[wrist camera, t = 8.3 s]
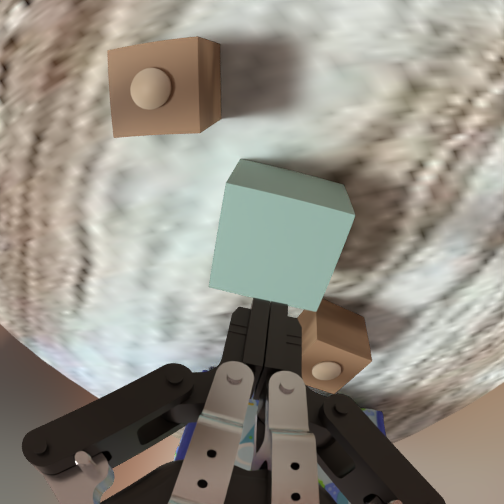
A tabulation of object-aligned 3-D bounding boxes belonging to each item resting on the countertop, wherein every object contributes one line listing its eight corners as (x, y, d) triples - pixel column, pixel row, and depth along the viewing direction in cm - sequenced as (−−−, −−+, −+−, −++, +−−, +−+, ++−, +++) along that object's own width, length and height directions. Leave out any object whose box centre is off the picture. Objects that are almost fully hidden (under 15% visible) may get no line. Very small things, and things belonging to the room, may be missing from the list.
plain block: (240, 158, 21) (226, 182, 17) (343, 183, 21) (355, 215, 17) (224, 246, 25) (208, 287, 20) (314, 268, 25) (316, 311, 20)
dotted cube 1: (315, 294, 26) (317, 341, 21) (363, 316, 26) (372, 362, 22) (285, 332, 28) (281, 378, 24) (331, 350, 29) (334, 395, 25)
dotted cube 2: (146, 51, 17) (105, 50, 13) (220, 44, 17) (196, 36, 13) (149, 121, 20) (111, 138, 16) (221, 118, 20) (199, 134, 15)
